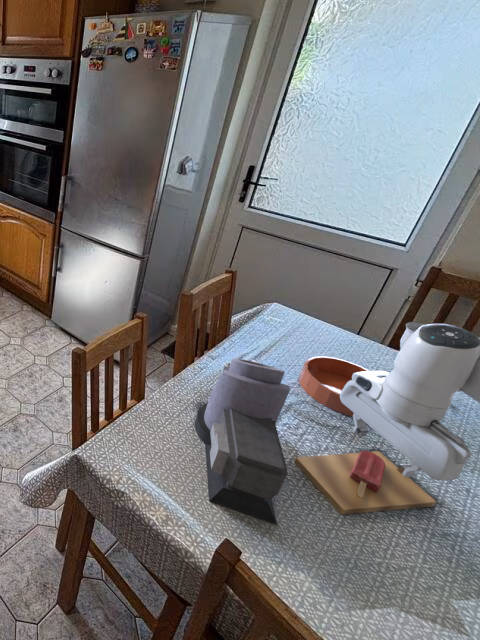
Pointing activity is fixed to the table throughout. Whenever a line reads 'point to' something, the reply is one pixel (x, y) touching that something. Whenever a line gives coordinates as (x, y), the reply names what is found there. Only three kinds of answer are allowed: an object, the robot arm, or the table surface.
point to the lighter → (227, 365)
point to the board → (342, 489)
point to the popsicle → (368, 472)
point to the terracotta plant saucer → (328, 380)
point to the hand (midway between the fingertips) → (380, 452)
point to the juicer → (244, 438)
